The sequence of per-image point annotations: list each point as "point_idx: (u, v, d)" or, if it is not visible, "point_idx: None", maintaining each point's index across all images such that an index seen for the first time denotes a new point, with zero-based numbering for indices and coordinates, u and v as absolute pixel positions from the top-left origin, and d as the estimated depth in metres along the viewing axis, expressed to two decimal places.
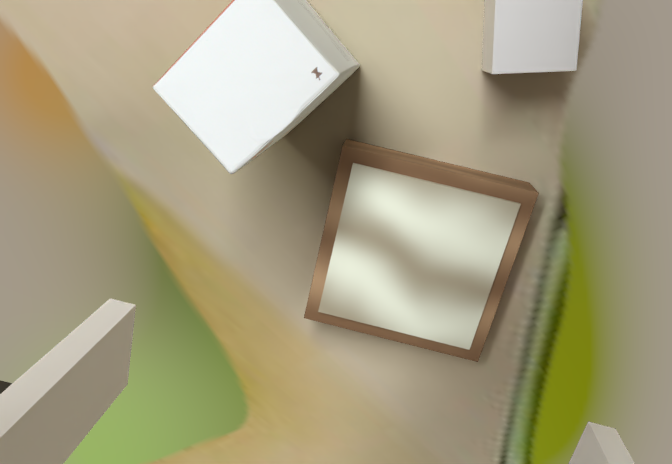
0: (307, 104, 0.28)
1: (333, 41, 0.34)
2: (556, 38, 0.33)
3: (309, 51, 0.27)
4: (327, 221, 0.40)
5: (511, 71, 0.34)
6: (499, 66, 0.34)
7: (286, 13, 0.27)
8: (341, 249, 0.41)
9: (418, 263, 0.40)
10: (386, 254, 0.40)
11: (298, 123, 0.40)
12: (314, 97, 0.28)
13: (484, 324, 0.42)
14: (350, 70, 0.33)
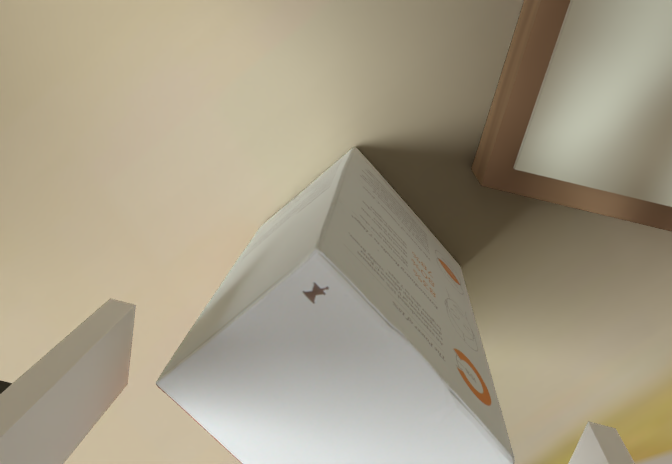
0: (378, 312, 0.14)
1: (302, 204, 0.21)
2: None
3: (273, 304, 0.14)
4: (621, 215, 0.22)
5: None
6: None
7: (210, 336, 0.14)
8: None
9: None
10: None
11: (439, 249, 0.25)
12: (363, 298, 0.13)
13: None
14: (344, 183, 0.19)
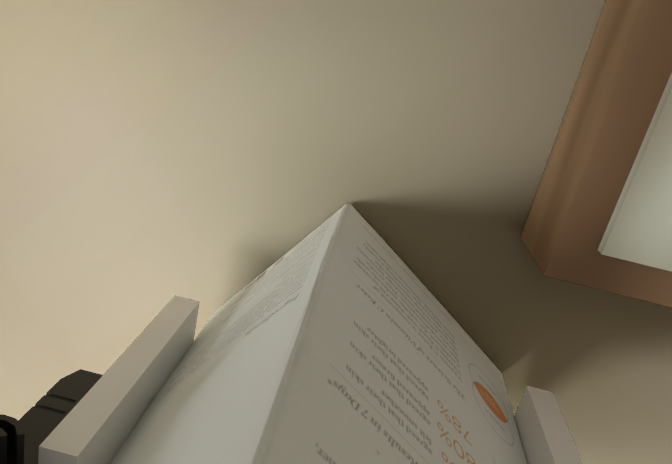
0: None
1: (258, 313, 0.13)
2: None
3: None
4: None
5: None
6: None
7: None
8: None
9: None
10: None
11: (474, 356, 0.17)
12: None
13: None
14: (321, 294, 0.11)
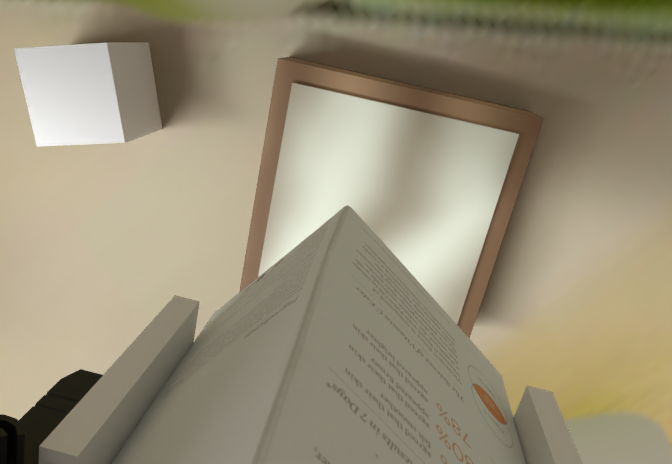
0: None
1: (257, 315, 0.13)
2: (76, 72, 0.28)
3: None
4: None
5: (119, 120, 0.29)
6: (115, 135, 0.29)
7: None
8: None
9: (381, 210, 0.30)
10: None
11: (473, 358, 0.17)
12: None
13: (478, 113, 0.28)
14: (320, 297, 0.11)
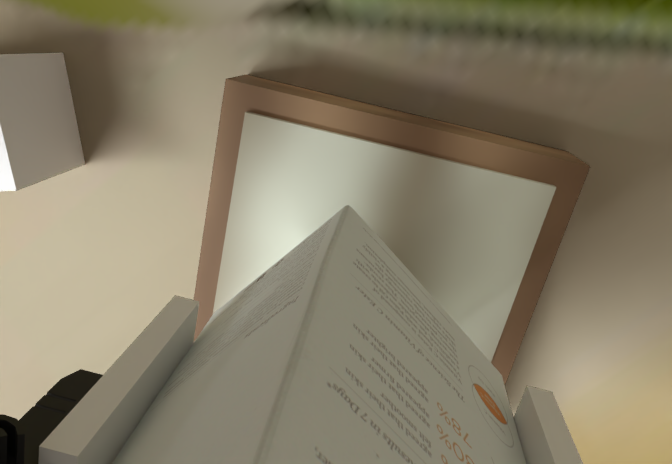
0: None
1: (258, 315, 0.13)
2: None
3: None
4: None
5: (7, 160, 0.21)
6: (3, 180, 0.21)
7: None
8: None
9: None
10: None
11: (473, 358, 0.17)
12: None
13: (500, 158, 0.21)
14: (320, 296, 0.11)
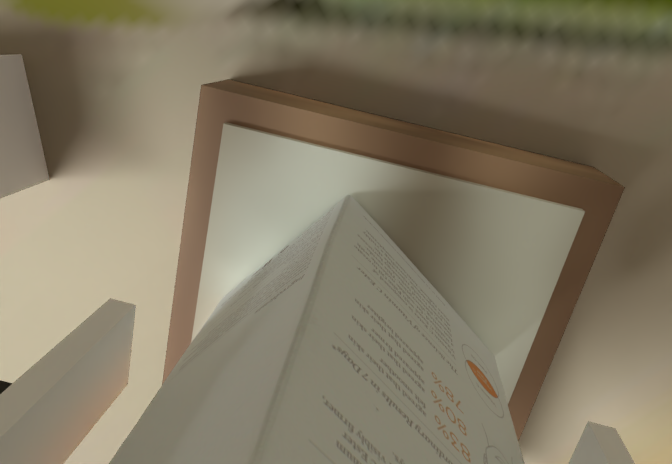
0: None
1: (267, 293, 0.14)
2: None
3: None
4: None
5: None
6: None
7: None
8: None
9: None
10: None
11: (467, 338, 0.18)
12: None
13: (519, 177, 0.18)
14: (325, 273, 0.12)
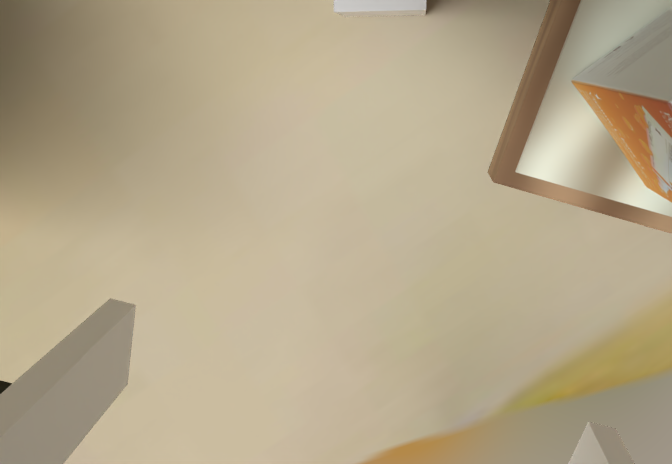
0: None
1: None
2: None
3: None
4: (585, 206, 0.33)
5: None
6: (418, 1, 0.29)
7: None
8: (626, 192, 0.32)
9: None
10: None
11: None
12: None
13: None
14: None
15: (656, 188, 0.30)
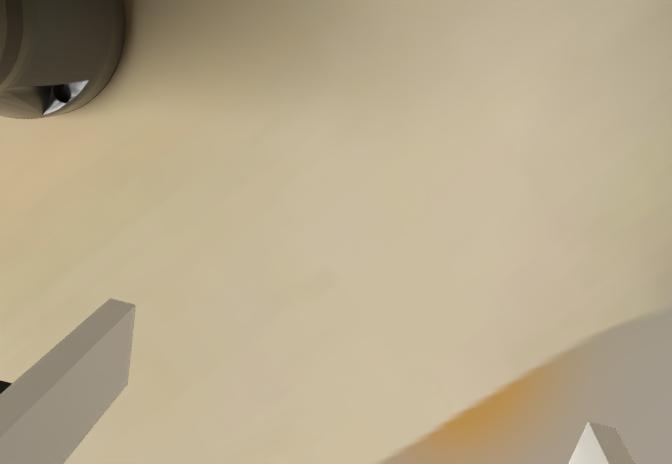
0: None
1: None
2: None
3: None
4: None
5: None
6: None
7: None
8: None
9: None
10: None
11: None
12: None
13: None
14: None
15: None
